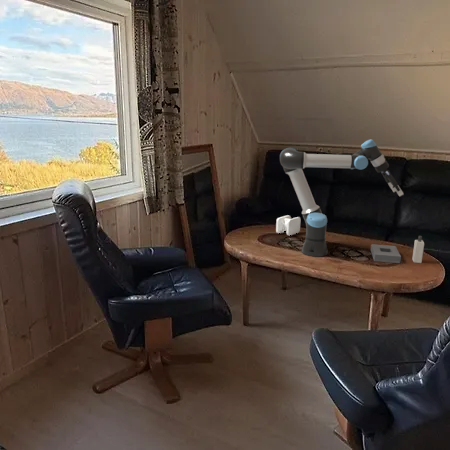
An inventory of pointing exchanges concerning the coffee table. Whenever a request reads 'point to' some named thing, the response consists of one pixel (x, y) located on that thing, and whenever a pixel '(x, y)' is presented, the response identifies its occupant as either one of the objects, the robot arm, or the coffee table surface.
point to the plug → (418, 250)
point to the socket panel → (385, 253)
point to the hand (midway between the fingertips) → (398, 193)
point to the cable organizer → (288, 225)
